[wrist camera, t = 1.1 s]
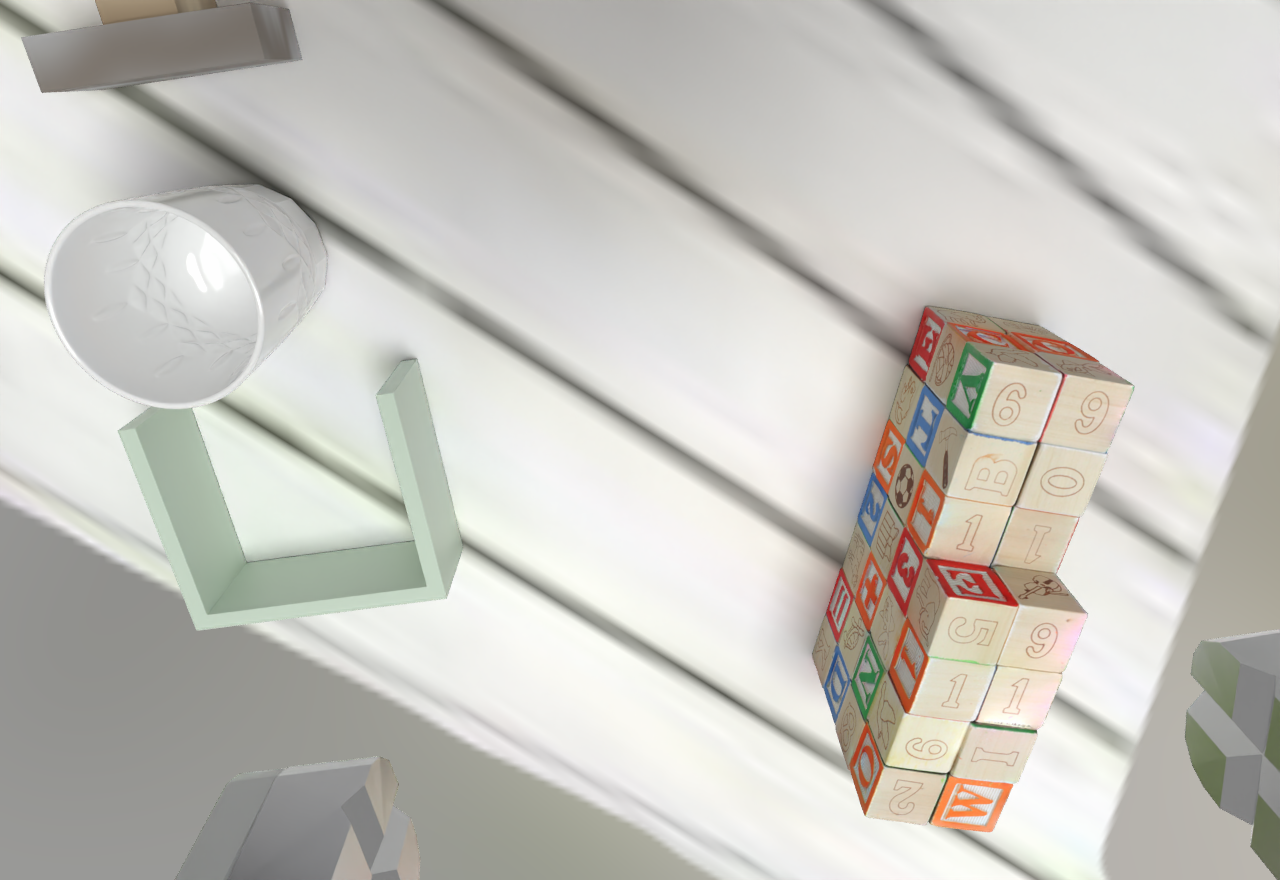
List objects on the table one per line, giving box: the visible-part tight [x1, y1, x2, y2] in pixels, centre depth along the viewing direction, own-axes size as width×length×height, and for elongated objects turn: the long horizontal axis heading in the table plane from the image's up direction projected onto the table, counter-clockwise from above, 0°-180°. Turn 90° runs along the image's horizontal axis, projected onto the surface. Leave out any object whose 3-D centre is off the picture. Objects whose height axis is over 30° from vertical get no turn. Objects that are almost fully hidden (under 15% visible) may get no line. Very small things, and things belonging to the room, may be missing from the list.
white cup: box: [44, 184, 328, 409], centre depth 37 cm, size 8×8×10 cm
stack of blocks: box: [812, 306, 1134, 832], centre depth 42 cm, size 21×6×12 cm, turn 169°
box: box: [118, 359, 463, 630], centre depth 44 cm, size 11×13×5 cm
